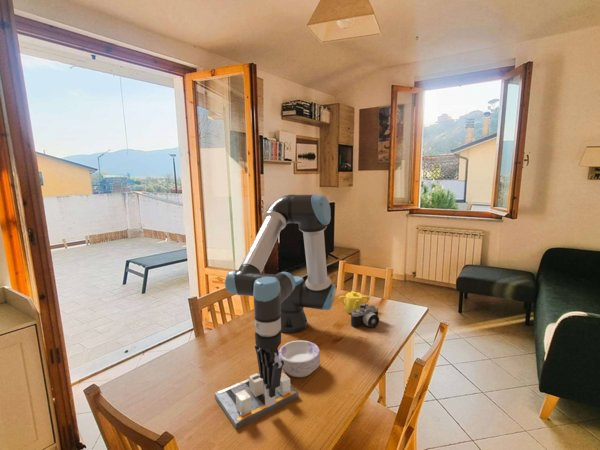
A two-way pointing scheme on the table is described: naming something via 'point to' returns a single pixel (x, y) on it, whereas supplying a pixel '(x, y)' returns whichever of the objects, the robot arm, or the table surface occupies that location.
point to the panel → (252, 401)
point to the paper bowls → (299, 358)
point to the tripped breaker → (256, 384)
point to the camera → (365, 316)
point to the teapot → (353, 301)
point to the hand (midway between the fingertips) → (270, 403)
